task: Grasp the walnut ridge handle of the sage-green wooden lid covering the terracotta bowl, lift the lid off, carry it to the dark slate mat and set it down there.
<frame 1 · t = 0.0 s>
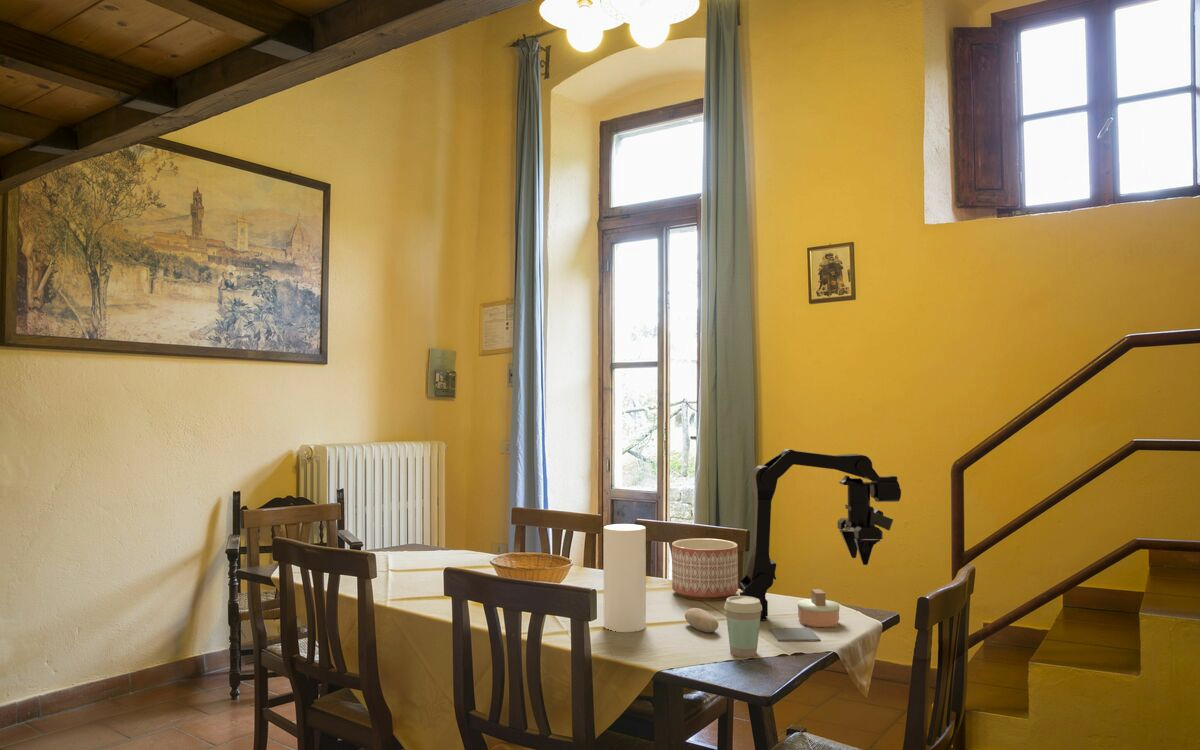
hand: (859, 561, 215), 15 cm above the table, fingers open, 9 cm apart
coffee cup: (743, 654, 184), on the table
mat: (794, 635, 198), on the table
planter: (704, 595, 240), on the table
stone: (701, 630, 203), on the table
bowl: (818, 622, 209), on the table
lid: (818, 606, 209), point 4 cm above the table, touching bowl
tall pillar cylinder: (624, 627, 206), on the table
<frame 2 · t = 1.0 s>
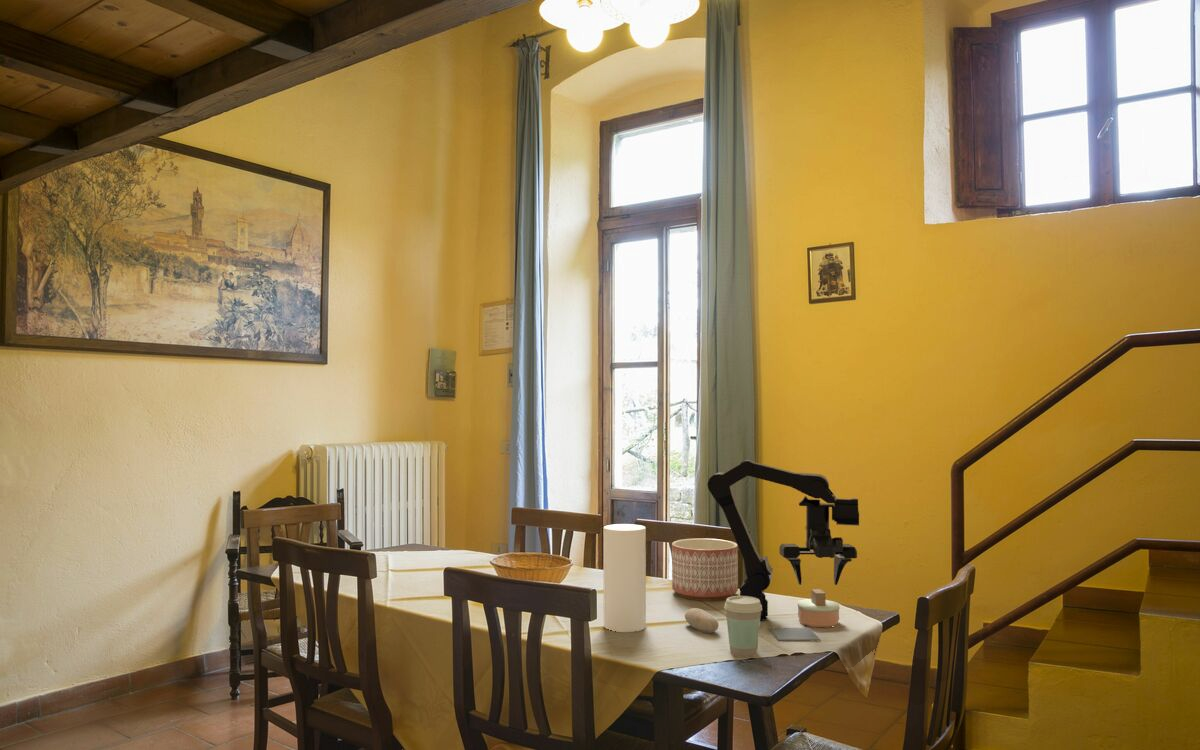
hand: (817, 584, 209), 10 cm above the table, fingers open, 9 cm apart
nothing on the table moved.
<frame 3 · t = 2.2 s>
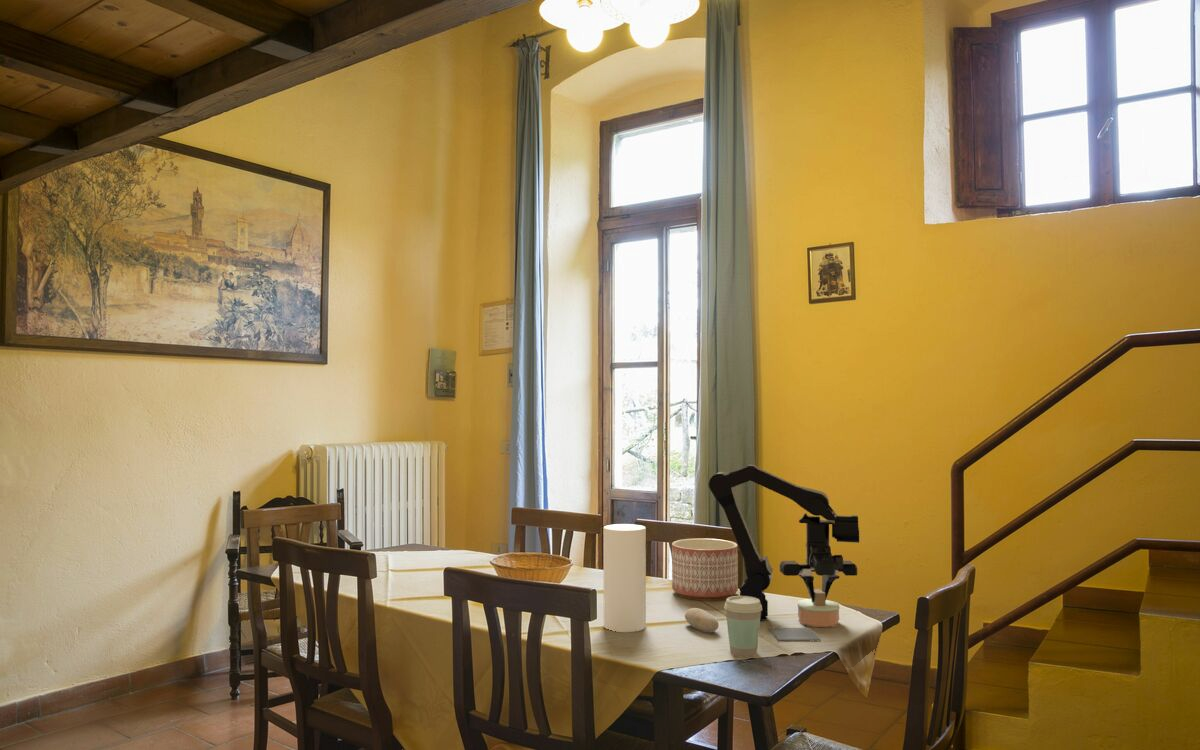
hand: (818, 601, 209), 5 cm above the table, fingers closed on lid, 2 cm apart
lid: (818, 606, 209), point 4 cm above the table, touching bowl, gripper
everything else where it was.
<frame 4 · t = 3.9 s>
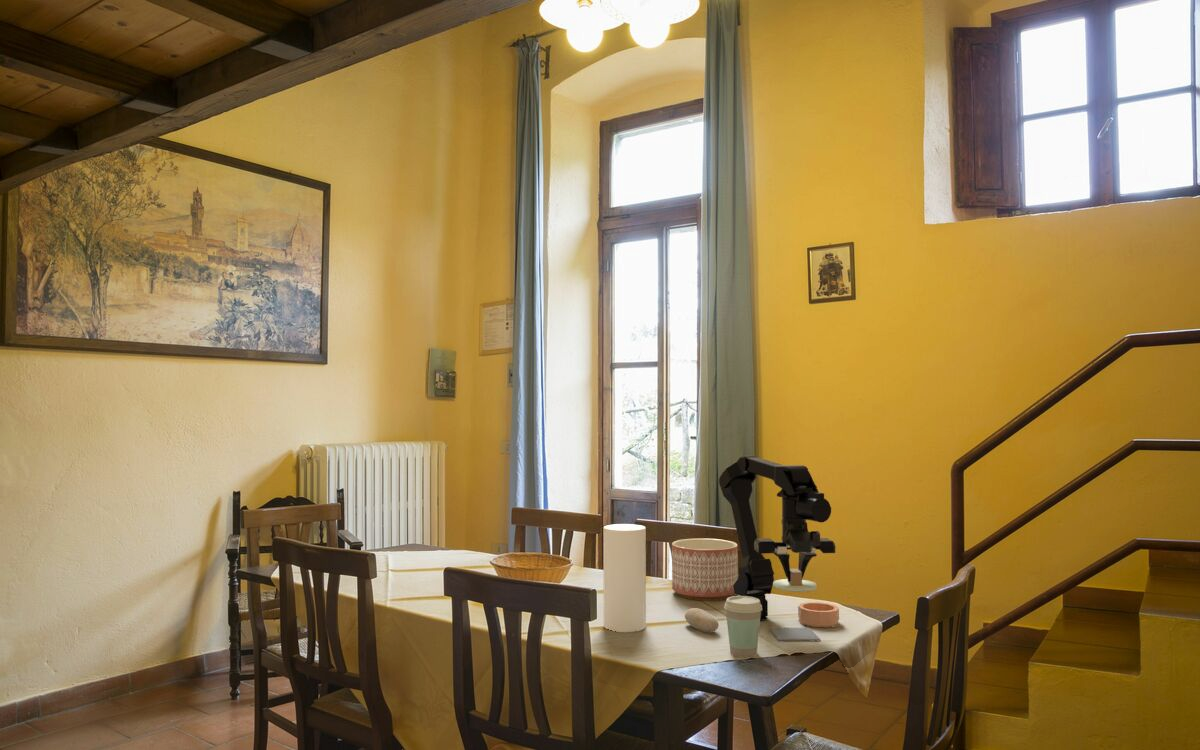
hand: (794, 581, 199), 13 cm above the table, fingers closed on lid, 2 cm apart
lid: (794, 586, 198), point 12 cm above the table, touching gripper
everything else where it was.
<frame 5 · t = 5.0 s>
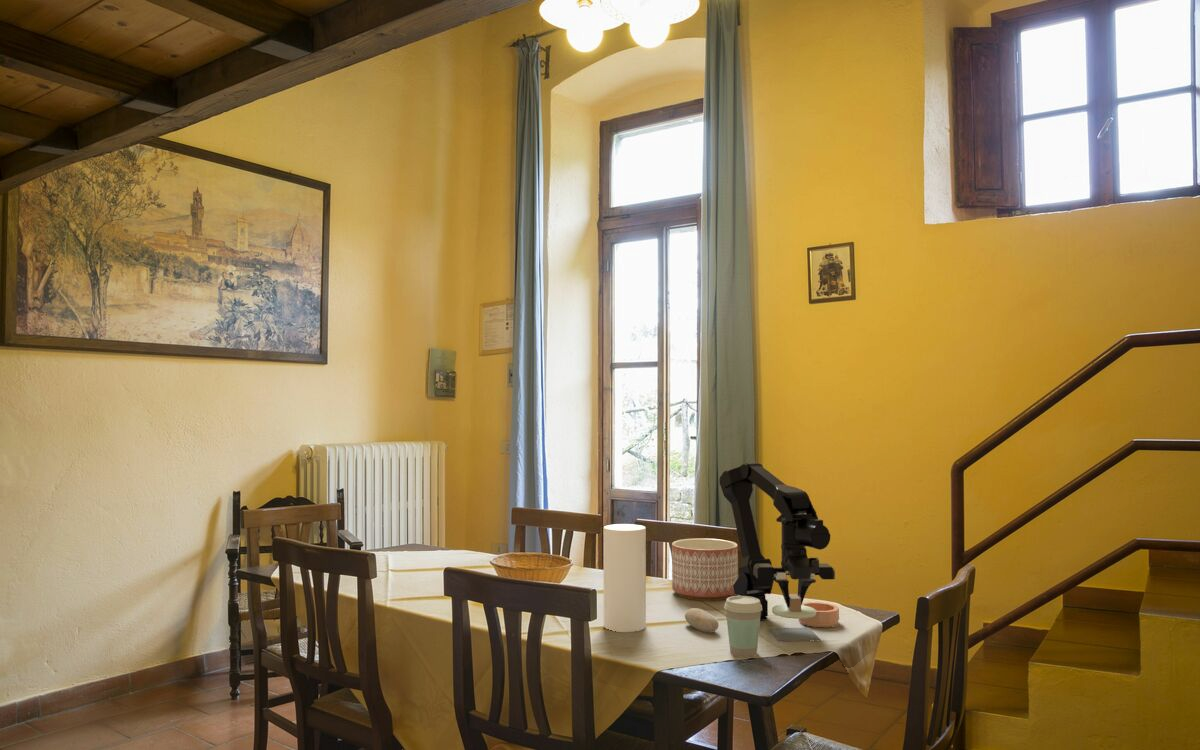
hand: (793, 606, 198), 7 cm above the table, fingers closed on lid, 2 cm apart
lid: (793, 612, 198), point 5 cm above the table, touching gripper
everything else where it was.
when the fingers open (3 cm above the table, at t = 5.9 s): lid drops 1 cm, resting on mat.
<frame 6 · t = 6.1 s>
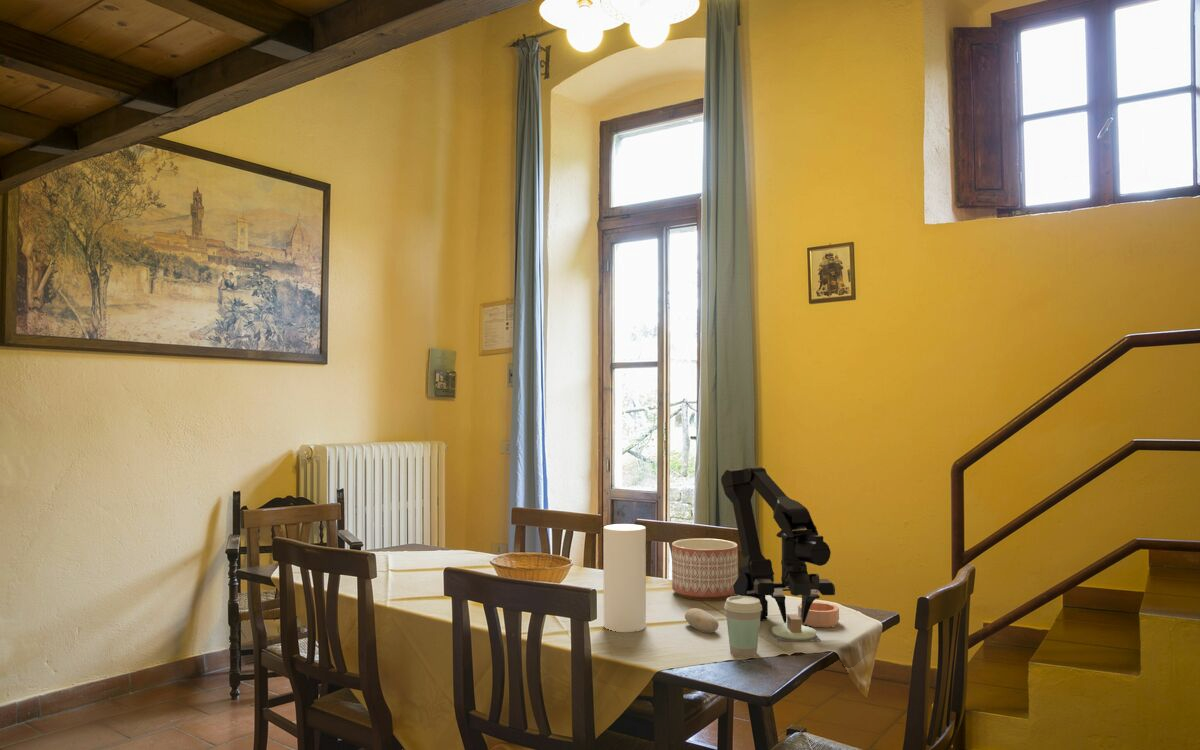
hand: (794, 622, 198), 3 cm above the table, fingers open, 4 cm apart
lid: (794, 633, 198), resting on mat
everything else where it was.
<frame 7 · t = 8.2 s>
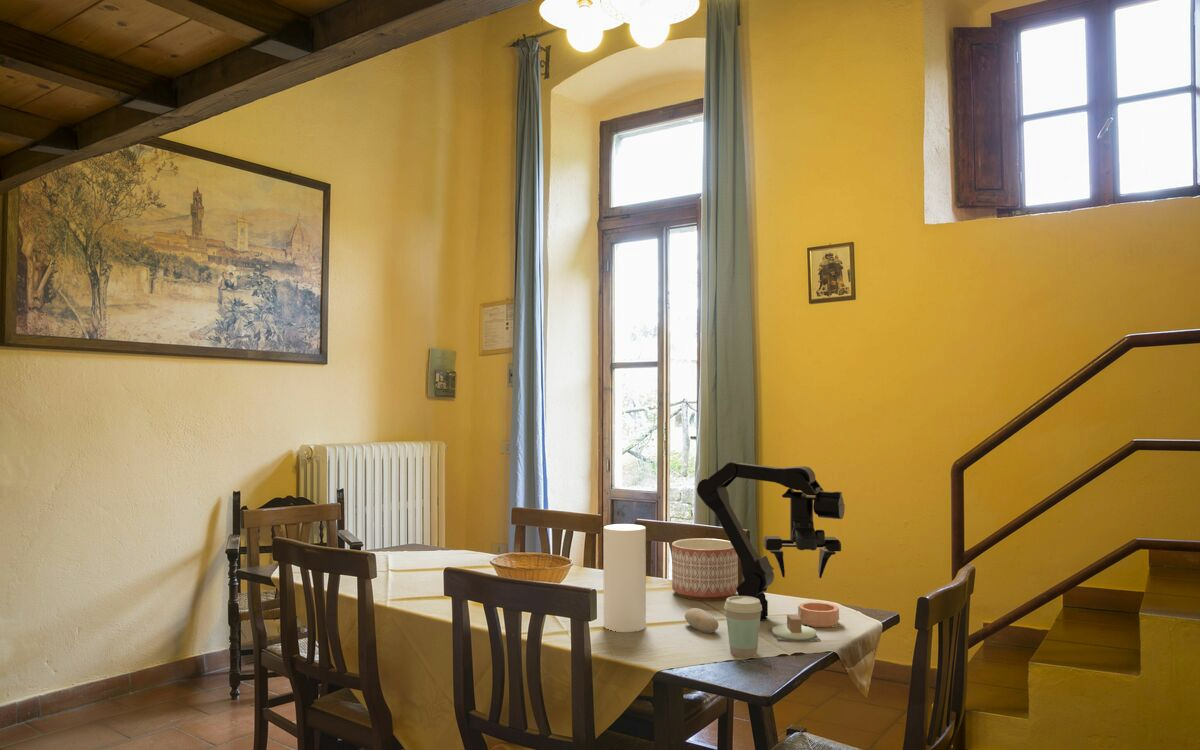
hand: (801, 577, 208), 12 cm above the table, fingers open, 9 cm apart
nothing on the table moved.
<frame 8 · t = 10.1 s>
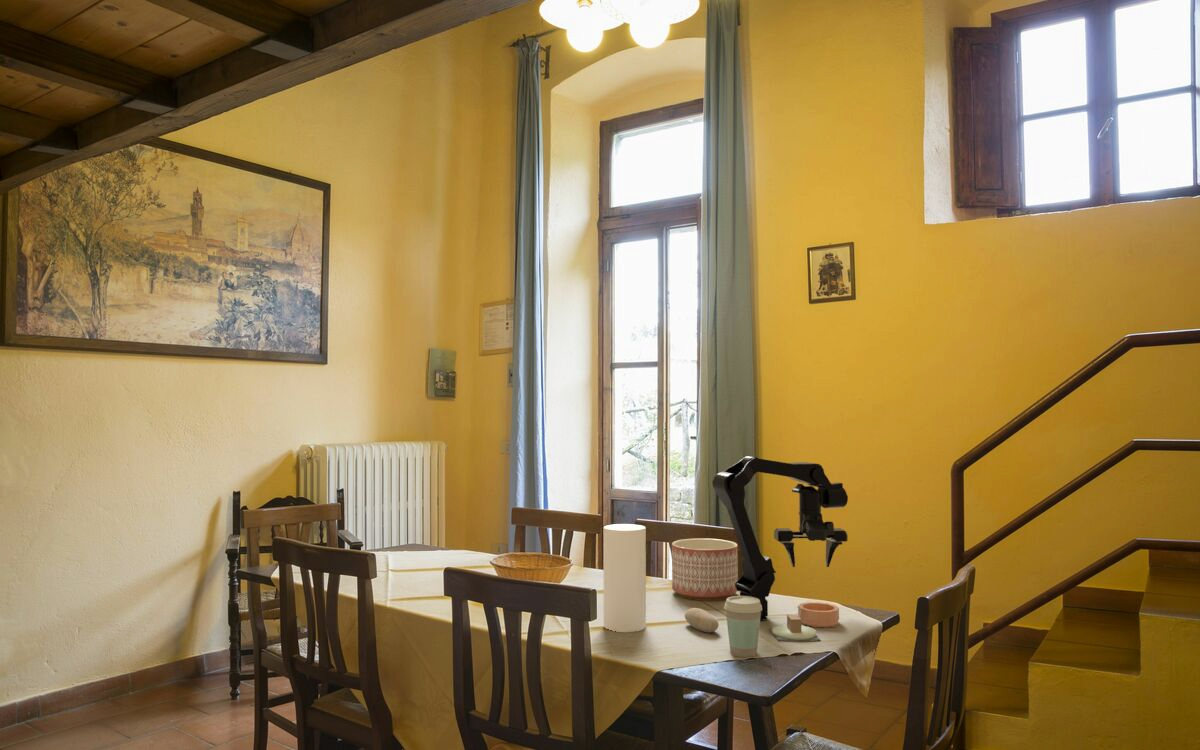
hand: (810, 566, 220), 12 cm above the table, fingers open, 9 cm apart
nothing on the table moved.
at the end: lid inside the target area on the mat (0.1 cm from its centre), point 0.4 cm above the mat's base; lid touching mat; lid tilted 0° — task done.
